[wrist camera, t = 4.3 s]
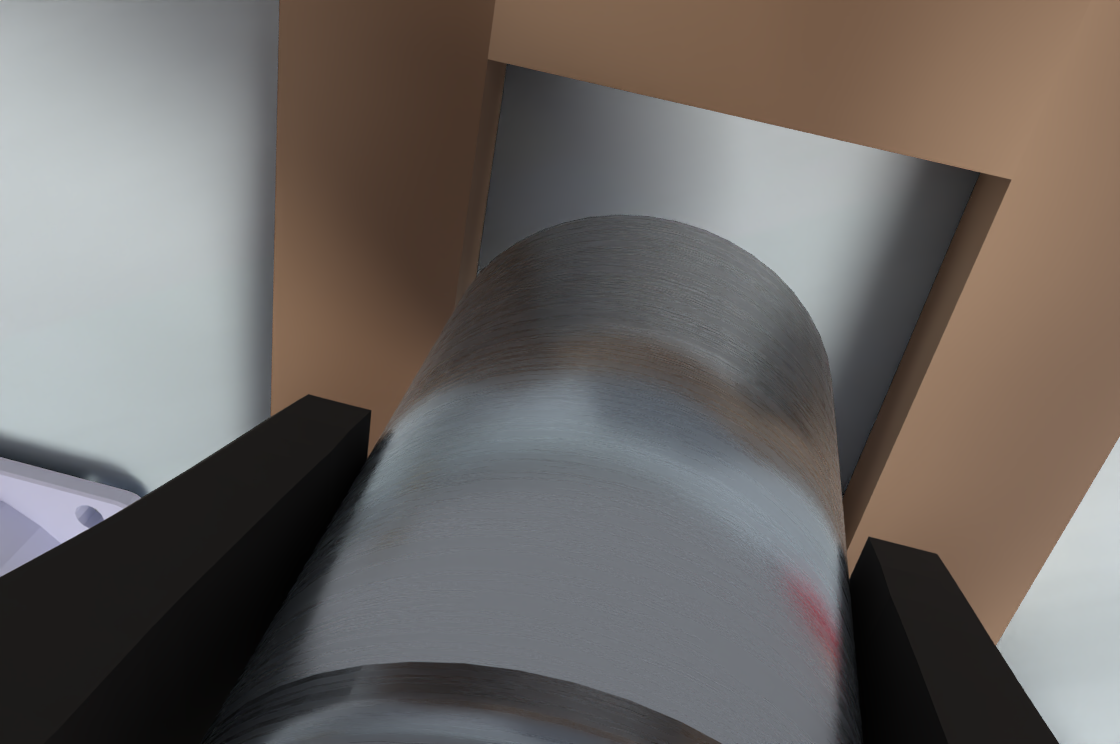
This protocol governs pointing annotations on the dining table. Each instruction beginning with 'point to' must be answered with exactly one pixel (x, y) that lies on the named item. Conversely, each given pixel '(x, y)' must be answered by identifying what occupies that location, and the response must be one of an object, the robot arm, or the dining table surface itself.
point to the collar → (779, 99)
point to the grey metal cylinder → (584, 521)
